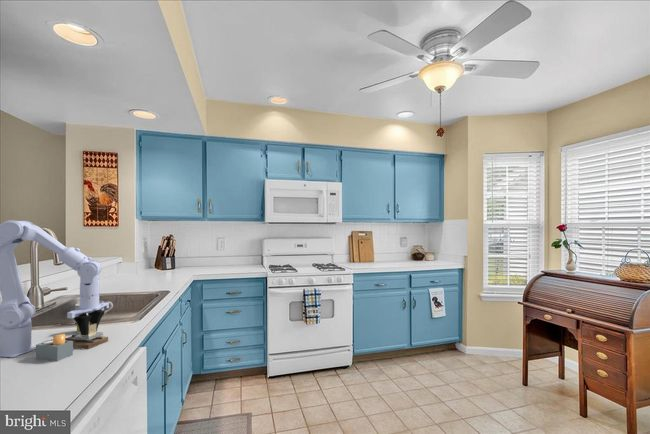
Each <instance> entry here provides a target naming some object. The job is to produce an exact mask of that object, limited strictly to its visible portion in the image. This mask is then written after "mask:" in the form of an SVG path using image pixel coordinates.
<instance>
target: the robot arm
mask: <svg viewBox="0 0 650 434" xmlns="http://www.w3.org/2000/svg"><path fill="white" fill-rule="evenodd" d="M24 241H30V242H31V241H32V242H36V243H38V244H39V245H41V246H43V247H45V248H46V249H48V250H50V251H52V252H53V253H55V254H57V256H58V261H60V262H62V263H63V264H65V265H67V266H68V267H69V268H70V269H72V270H74V271H75V272H76V273H77V275H78V276H79V277H80V281H79V303H80V307H79V308H78V309H76V310H75V309H74V310H70V311H68V312H67V314H66V318H67V319H73V320H74V321H75V323H76V325H77V324H78V327H79V329H80V333H81V335H88V327H89V321H90V323H96V332H98V328H99V324H100V322H101V319H102V318H103V316H105V315H104V313H105V311H106V310H105V309H109V308H110V304H109V303H106V302H107V301H104V303H100V304H99V301H100V286H101V285H100V273H101V271H102V268H103V267H102V264H101V263H100V262H99V261H98V260H95V259H93V258H92V257H91V256H87V255H86V254H84V253H83V252H81V249H80V248H79V247H76V248H75V247H73V246H69V247H67V246H65V245H64V244H62V243H61V242H60V241H59V240H57V239H56V238H54V236H52V235H50V234H49V233H48V232H47V231H45V230H43V229H42V228H41V227H40V226H38V225H36V224H34V223H33V222H31V221H29V220H13V219H8V220H6V221H2V223H0V295H1V302H0V357H2V358H15V357H18V356H21V355H24V354H26V353H30V352H32V351H36V346H32V329H33V328H32V318H33V317H34V315H35V313H36V307H35V306H34V305H33V304H32V303H31V301H30V298H29V297H28V296H27V295H26V294H25V292H24V288H23V285H22V281H21V277H20V276H21V275H20V272H19V269H18V268H19V267H18V264H17V260H16V256H15V253H14V251H15V249H16V248H17V247H18V245H20V244H21V242H24ZM102 309H104V310H102ZM87 313H88V316H87V315H86V314H87ZM105 314H106V313H105Z"/></svg>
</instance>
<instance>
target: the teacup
mask: <svg viewBox="0 0 650 434" xmlns="http://www.w3.org/2000/svg"><path fill="white" fill-rule="evenodd" d="M105 302H106V303H109V308H107V309H105V308H104V309H102V310H104V311H105V313H104V315H103V316H105V315H106V314H107V313H108V312H110V311H111V310H112V309H113V307H114V304H113V302H112V301H104V300H99V304H100V303H105ZM79 307H80V302H79V303H76V304H74V310H76V309H78V308H79Z"/></svg>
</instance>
